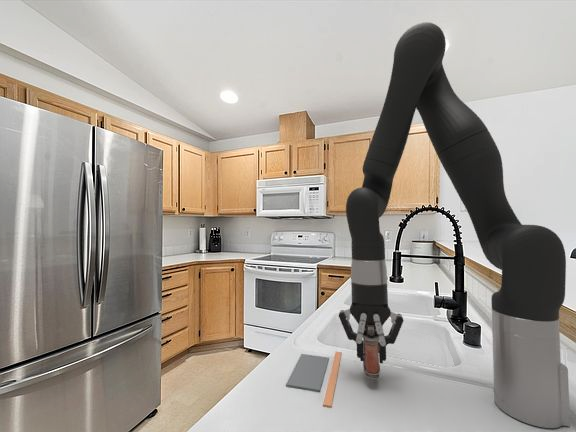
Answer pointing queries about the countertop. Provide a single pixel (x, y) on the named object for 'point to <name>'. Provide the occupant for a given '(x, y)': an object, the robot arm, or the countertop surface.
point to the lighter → (371, 352)
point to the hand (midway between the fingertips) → (371, 360)
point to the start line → (332, 381)
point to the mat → (308, 373)
